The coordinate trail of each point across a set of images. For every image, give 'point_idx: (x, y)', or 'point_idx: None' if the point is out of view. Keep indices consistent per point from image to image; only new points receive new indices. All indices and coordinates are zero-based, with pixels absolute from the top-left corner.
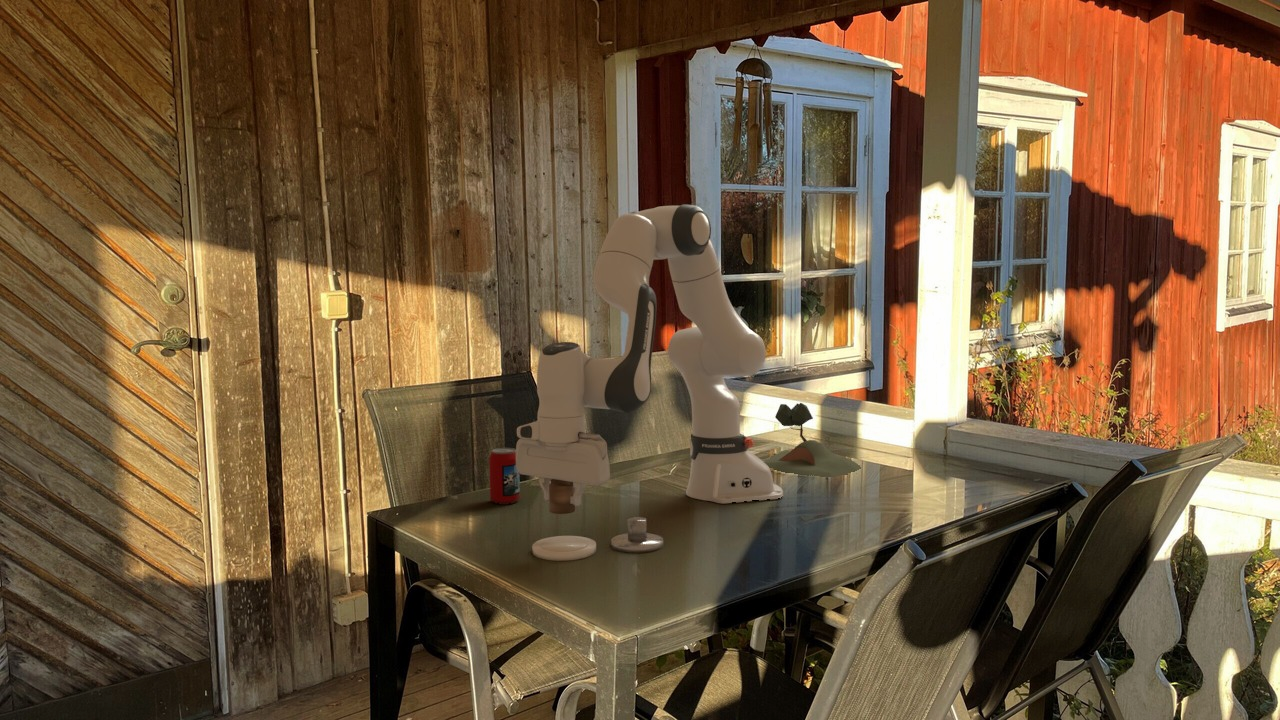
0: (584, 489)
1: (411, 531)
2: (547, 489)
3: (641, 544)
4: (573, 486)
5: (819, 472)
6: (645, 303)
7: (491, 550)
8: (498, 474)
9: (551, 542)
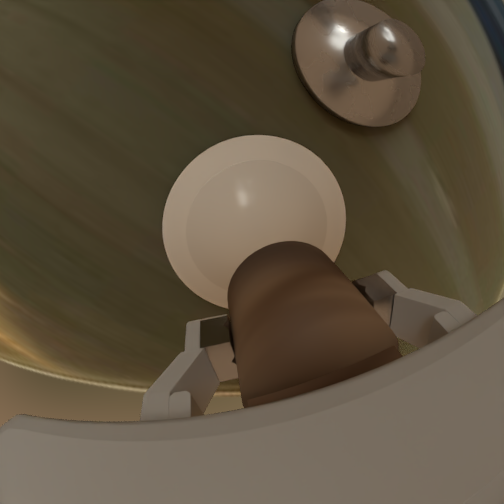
0: (444, 301)
1: None
2: (208, 382)
3: (400, 86)
4: (395, 342)
5: None
6: None
7: (132, 339)
8: None
9: (221, 252)
